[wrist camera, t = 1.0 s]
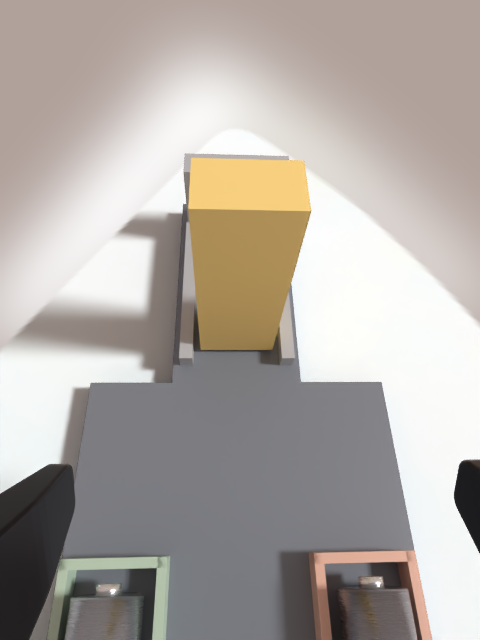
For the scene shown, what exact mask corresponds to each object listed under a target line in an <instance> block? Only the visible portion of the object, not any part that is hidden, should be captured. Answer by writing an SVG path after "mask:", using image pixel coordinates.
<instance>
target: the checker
mask: <svg viewBox="0 0 480 640" xmlns="http://www.w3.org/2000/svg"><path fill="white" fill-rule="evenodd" d="M191 158H220V159H260V160H289V156H258V155H219V154H185V158H184V182H185V193H186V204H183V216H182V232H181V248H180V264H179V280H178V296H177V312H176V328H175V344H174V359H173V375H172V383H91V385H90V391H89V397H88V403H87V410H86V416H85V422H84V428H83V434H82V440H81V446H80V453H79V459H78V465H77V471H76V477H75V483H74V489H75V500H76V501H75V510H74V514H73V517H72V520H71V524H70V527H69V530H68V533H67V537H66V540H65V544H64V551H63V557H62V559H60V562H59V568H58V574H57V580H56V586H55V592H54V598H53V604H52V610H51V616H50V622H49V628H48V634H47V640H64V639H65V633H66V626H67V619H68V612H69V606H70V599H71V597H74V596H78V595H85V594H95V593H96V585H97V584H102V583H122V592H137V593H143V594H144V606H143V619H142V632H141V640H343V635H342V627H341V618H340V609H339V600H338V591H337V588H338V587H343V586H355V585H359V581H358V576H383V581H384V585H389V586H401V587H407V588H408V590H409V596H410V601H411V607H412V612H413V618H414V623H415V629H416V634H417V640H432V636H431V631H430V626H429V621H428V616H427V611H426V606H425V600H424V595H423V590H422V585H421V580H420V575H419V570H418V565H417V560H416V555H415V551H414V546H413V541H412V536H411V531H410V525H409V520H408V515H407V510H406V505H405V500H404V495H403V490H402V485H401V480H400V475H399V469H398V464H397V459H396V454H395V449H394V444H393V439H392V434H391V429H390V424H389V419H388V413H387V408H386V403H385V398H384V393H383V388H382V383H381V382H301V380H300V369H299V359H298V348H297V338H296V328H295V317H294V307H293V297H292V286H291V285H290V288H289V292H288V296H287V299H286V303H285V306H284V310H283V313H282V317H281V321H280V324H279V328H278V331H277V335H276V338H275V342H274V346H273V349H272V350H201V348H200V337H199V325H198V314H197V302H196V291H195V280H194V268H193V257H192V245H191V234H190V222H189V211H188V205H189V187H190V169H191Z"/></svg>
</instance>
